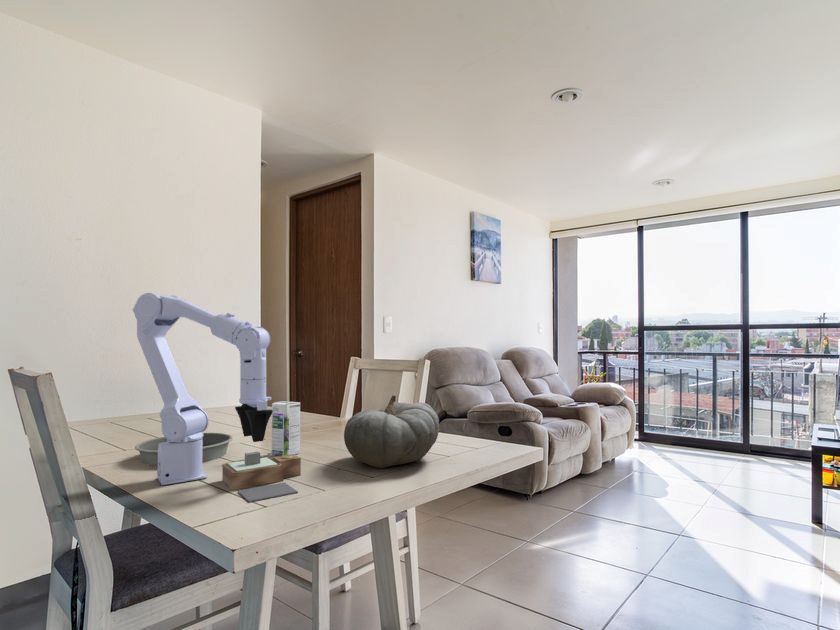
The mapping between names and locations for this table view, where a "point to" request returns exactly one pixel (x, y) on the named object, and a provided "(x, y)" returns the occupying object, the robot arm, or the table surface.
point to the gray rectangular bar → (274, 454)
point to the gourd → (392, 434)
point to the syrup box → (286, 427)
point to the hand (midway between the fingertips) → (253, 438)
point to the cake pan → (211, 447)
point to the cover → (251, 462)
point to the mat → (267, 492)
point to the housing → (263, 473)
